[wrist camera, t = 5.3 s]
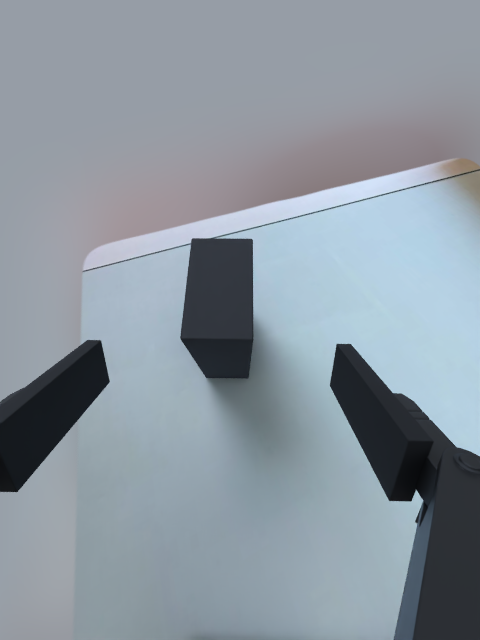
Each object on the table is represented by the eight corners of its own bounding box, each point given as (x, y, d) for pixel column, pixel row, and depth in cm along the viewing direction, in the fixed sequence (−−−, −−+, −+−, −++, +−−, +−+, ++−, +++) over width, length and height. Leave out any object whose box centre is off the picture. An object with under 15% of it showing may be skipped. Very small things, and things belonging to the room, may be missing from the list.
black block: (205, 377, 24) (179, 338, 14) (210, 310, 27) (191, 237, 17) (248, 378, 24) (253, 339, 14) (248, 311, 27) (252, 238, 17)
